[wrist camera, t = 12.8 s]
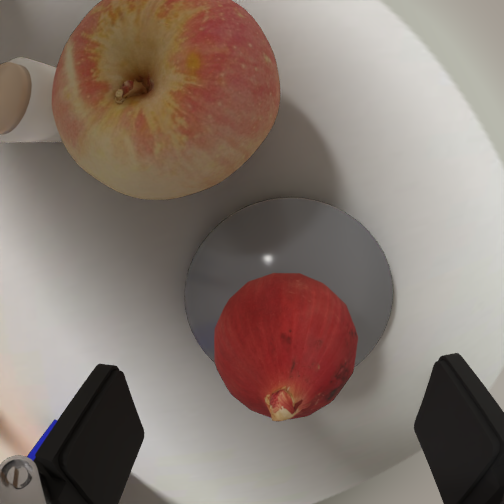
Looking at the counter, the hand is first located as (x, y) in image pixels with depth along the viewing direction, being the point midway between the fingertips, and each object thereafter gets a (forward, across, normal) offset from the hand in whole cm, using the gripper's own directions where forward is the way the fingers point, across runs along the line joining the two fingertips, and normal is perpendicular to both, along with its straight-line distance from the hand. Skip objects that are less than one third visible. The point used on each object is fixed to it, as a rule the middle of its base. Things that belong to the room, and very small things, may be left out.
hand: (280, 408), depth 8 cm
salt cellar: (+10, +12, -11) cm, 19 cm away
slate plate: (+9, -1, +1) cm, 9 cm away
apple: (+10, +4, -10) cm, 14 cm away
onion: (+8, 0, +1) cm, 8 cm away
